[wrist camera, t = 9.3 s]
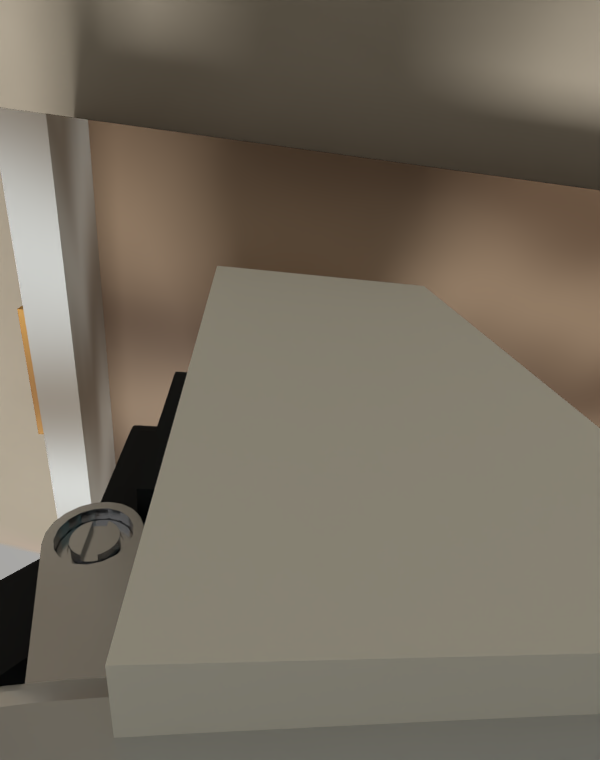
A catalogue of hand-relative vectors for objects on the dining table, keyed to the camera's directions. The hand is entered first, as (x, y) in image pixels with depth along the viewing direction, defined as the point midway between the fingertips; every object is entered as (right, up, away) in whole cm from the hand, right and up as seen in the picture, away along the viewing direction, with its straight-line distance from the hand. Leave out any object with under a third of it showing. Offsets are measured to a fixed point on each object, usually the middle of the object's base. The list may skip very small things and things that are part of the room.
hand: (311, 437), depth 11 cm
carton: (0, +1, +1) cm, 2 cm away
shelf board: (+5, +3, +6) cm, 8 cm away
